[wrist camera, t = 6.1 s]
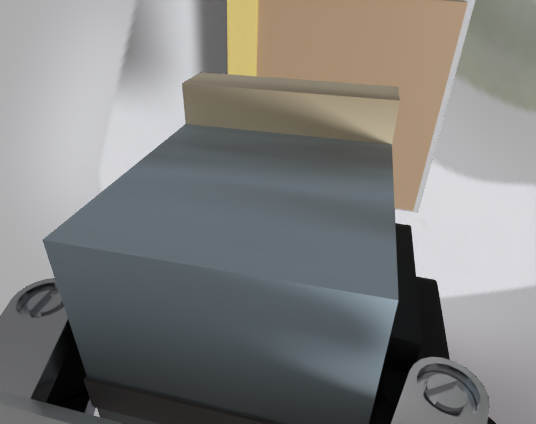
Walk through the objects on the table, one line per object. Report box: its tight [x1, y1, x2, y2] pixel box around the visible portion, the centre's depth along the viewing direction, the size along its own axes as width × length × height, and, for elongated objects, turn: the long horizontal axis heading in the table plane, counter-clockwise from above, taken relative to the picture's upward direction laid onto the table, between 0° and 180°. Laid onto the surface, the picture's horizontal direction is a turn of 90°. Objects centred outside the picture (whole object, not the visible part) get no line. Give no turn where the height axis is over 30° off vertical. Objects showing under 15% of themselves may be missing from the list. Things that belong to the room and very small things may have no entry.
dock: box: [227, 0, 475, 213], centre depth 24 cm, size 12×12×3 cm
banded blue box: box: [43, 72, 400, 424], centre depth 10 cm, size 9×5×6 cm, turn 179°
